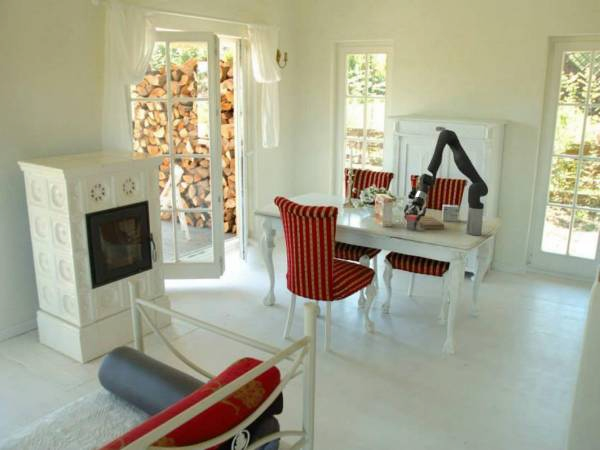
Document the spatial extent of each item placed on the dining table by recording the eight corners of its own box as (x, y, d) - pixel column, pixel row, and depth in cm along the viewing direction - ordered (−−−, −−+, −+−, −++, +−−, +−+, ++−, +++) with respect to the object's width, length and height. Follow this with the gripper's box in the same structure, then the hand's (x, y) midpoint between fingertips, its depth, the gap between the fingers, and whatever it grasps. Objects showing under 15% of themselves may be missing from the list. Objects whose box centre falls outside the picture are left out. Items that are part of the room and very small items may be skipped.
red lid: (418, 219, 376) (419, 215, 375) (414, 221, 371) (415, 217, 370) (409, 218, 379) (410, 214, 378) (405, 220, 374) (406, 215, 373)
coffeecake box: (373, 221, 394) (375, 193, 389) (383, 221, 396) (384, 193, 391) (381, 226, 380) (383, 198, 375) (391, 226, 382) (393, 197, 377)
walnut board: (444, 228, 378) (444, 224, 378) (424, 229, 376) (424, 224, 375) (430, 220, 399) (431, 216, 399) (411, 221, 397) (412, 217, 396)
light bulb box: (456, 219, 405) (457, 204, 402) (458, 221, 398) (459, 206, 395) (441, 219, 406) (442, 204, 403) (442, 221, 399) (443, 206, 396)
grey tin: (416, 228, 377) (417, 217, 375) (413, 230, 373) (414, 218, 371) (409, 227, 380) (410, 215, 378) (406, 229, 376) (407, 217, 374)
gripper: (408, 194, 381) (399, 214, 375) (428, 197, 373) (420, 217, 367) (411, 201, 387) (402, 220, 380) (431, 204, 379) (422, 224, 373)
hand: (411, 219), depth 374 cm, fingers open, 8 cm apart
